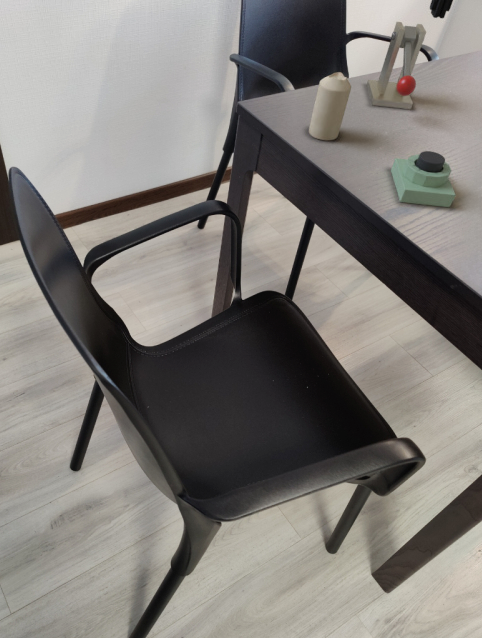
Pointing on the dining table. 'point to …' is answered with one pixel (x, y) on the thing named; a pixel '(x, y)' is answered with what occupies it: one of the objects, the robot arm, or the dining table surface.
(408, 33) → the lever
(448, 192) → the button box
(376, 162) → the dining table surface
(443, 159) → the button
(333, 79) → the candle
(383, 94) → the bracket
